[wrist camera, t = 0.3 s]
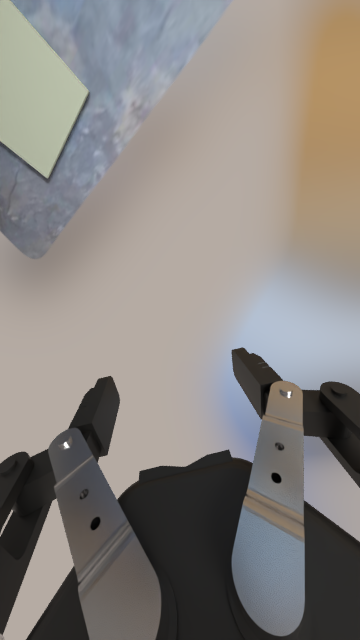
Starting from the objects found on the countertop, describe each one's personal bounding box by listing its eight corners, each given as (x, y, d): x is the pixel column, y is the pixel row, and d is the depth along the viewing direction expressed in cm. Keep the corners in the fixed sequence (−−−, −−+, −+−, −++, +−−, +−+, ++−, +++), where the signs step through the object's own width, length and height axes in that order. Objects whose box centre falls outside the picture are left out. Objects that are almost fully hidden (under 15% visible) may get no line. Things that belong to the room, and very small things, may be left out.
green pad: (-64, 88, 22) (-68, 86, 21) (-37, -53, 17) (-42, -59, 17) (48, 178, 28) (47, 178, 28) (89, 92, 24) (88, 90, 23)
